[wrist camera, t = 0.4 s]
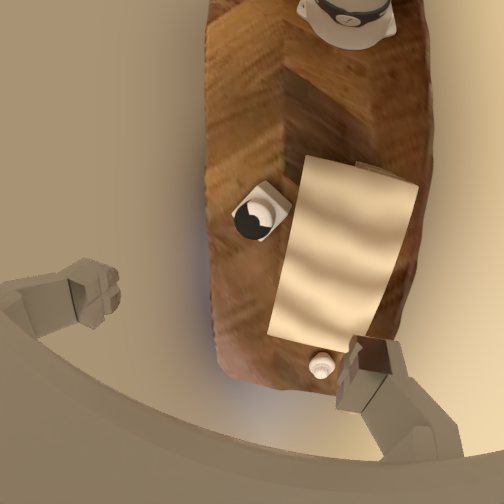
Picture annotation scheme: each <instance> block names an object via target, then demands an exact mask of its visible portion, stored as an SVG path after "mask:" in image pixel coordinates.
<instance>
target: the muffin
mask: <svg viewBox="0 0 504 504" xmlns="http://www.w3.org/2000/svg"><path fill="white" fill-rule="evenodd" d="M334 368H335V363H334V361H333V359H332V358H331V357H330V356H329V354H328V353H325V352H320V353H318V354H317V355H316V356H315V357H314V358H313V359H312V360H311V362H310V364H309V369H310V371H311V372H312V373H313V374H314V376H315V377H316V378H318V379H322V378H323V379H324V378H326V377H327V376H328V375H329V374H330V373H332V372H333V370H334Z"/></svg>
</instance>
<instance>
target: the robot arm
mask: <svg viewBox="0 0 504 504" xmlns="http://www.w3.org/2000/svg"><path fill="white" fill-rule="evenodd" d="M303 6H304V7H305V8H304V7H303ZM297 14H298V15H299V16H300V17H301V18H303V19H304V20H306V21H307V22H308V23H309V24H310V25H311V27H312V29H313V30H314V31H315V33H316V34H317V35H318V36H319V37H320V38H322V39H323V40H324V41H326V42H327V43H329V44H331V45H333V46H336V47H339V48H342V49H348V50H361V49H366V48H369V47H371V46H373V45H375V44H376V43H377V42H379V41H380V40H381V39H383V38H385V37H390V36H393V35H395V34H396V24H395V19H394V14H393V9H392V5H391V0H300V2H299V5H298V7H297ZM390 25H391V26H390ZM118 281H119V275H118V271H117V270H116V269H115V268H113V267H111V266H108V265H106V264H103V263H100V262H98V261H95V260H92V259H90V258H82V259H80V260H78V261H77V262H75V263H73V264H72V265H70V266H69V267H67V268H65V269H63V270H62V271H60V272H58V273H57V274H56V273H49V274H43V275H38V276H33V277H27V278H22V279H16V280H11V281H6V282H4V283H2V284H1V285H0V504H504V450H501V451H496V452H491V453H487V454H481V455H476V456H469V457H464V454H463V449H462V444H461V439H460V435H459V431H458V426H457V424H456V423H455V422H454V421H453V420H452V419H451V418H450V417H449V416H448V415H447V414H446V412H445V411H444V410H443V409H442V408H441V407H440V406H439V405H438V404H437V403H436V402H435V401H434V400H433V399H432V398H431V396H430V395H429V394H428V393H427V392H426V391H425V390H424V389H423V388H422V387H421V386H420V385H419V384H418V383H417V382H416V381H415V380H414V379H413V378H411V377H408V373H407V369H406V365H405V361H404V357H403V353H402V350H401V346H400V343H399V342H398V341H394V340H387V339H378V338H373V337H367V336H362V335H356V334H354V335H353V336H352V338H351V340H350V342H349V351H348V352H347V353H345V354H344V355H343V357H342V360H341V362H340V365H339V368H338V373H337V383H338V384H339V386H340V387H339V389H338V391H337V393H336V409H338V410H343V411H349V412H355V413H361V416H362V418H363V419H364V421H365V423H366V425H367V426H368V428H369V430H370V432H371V434H372V435H373V437H374V439H375V441H376V442H377V444H378V446H379V448H380V450H381V451H382V453H383V455H384V457H383V458H382V459H381V460H380V461H360V460H347V459H338V458H329V457H321V456H314V455H308V454H302V453H296V452H291V451H286V450H281V449H276V448H271V447H267V446H263V445H259V444H255V443H251V442H247V441H244V440H240V439H237V438H233V437H230V436H226V435H223V434H220V433H217V432H214V431H210V430H208V429H205V428H202V427H199V426H196V425H194V424H191V423H188V422H186V421H183V420H180V419H178V418H175V417H173V416H170V415H168V414H166V413H163V412H161V411H158V410H156V409H154V408H152V407H150V406H147V405H145V404H143V403H141V402H139V401H137V400H135V399H133V398H131V397H129V396H127V395H125V394H123V393H121V392H119V391H117V390H115V389H113V388H111V387H109V386H108V385H106V384H104V383H102V382H101V381H99V380H97V379H95V378H94V377H92V376H90V375H88V374H87V373H85V372H84V371H82V370H80V369H79V368H77V367H76V366H74V365H72V364H70V363H69V362H68V361H66V360H65V359H63V358H62V357H60V356H59V355H57V354H56V353H54V352H53V351H52V350H50V349H49V348H47V347H46V346H45V345H43V344H42V343H41V342H39V341H38V340H37V338H40V337H42V336H45V335H47V334H50V333H53V332H55V331H58V330H60V329H63V328H65V327H68V326H71V325H73V324H76V323H77V322H79V323H81V324H83V325H85V326H87V327H89V328H91V329H93V330H94V329H95V328H96V327H97V326H99V325H100V324H101V323H102V322H103V321H104V320H105V315H108V314H112V313H113V312H114V311H115V310H116V309H117V307H118V305H119V303H120V299H121V292H120V289H119V287H118V286H117V282H118Z"/></svg>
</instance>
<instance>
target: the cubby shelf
mask: <svg viewBox="0 0 504 504" xmlns="http://www.w3.org/2000/svg"><path fill="white" fill-rule="evenodd" d="M418 188H419V186H417V185H415V184H413V183H411V182H409V181H407V180H405V179H403V178H401V177H399V176H397V175H395V174H393V173H391V172H389V171H387V170H385V169H383V168H380V167H377V166H373V165H370V164H366V163H362V162H359V161H356V163H355V166H351V165H347V164H343V163H339V162H335V161H331V160H326V159H322V158H318V157H313V156H309V155H306V156H305V162H304V167H303V172H302V178H301V183H300V188H299V193H298V198H297V203H296V208H295V213H294V218H293V222H292V227H291V232H290V237H289V241H288V246H287V251H286V255H285V260H284V264H283V269H282V273H281V278H280V282H279V286H278V291H277V295H276V299H275V304H274V308H273V312H272V316H271V320H270V325H269V329H268V333H267V334H268V335H271V336H275V337H279V338H283V339H287V340H291V341H295V342H299V343H304V344H308V345H312V346H317V347H321V348H326V349H330V350H335V351H340V352H345V353H347V352H348V351H349V342H350V340H351V338H352V336H353V335H354V334H356V335H362V336H365V334H366V332H367V330H368V328H369V326H370V323H371V321H372V319H373V317H374V314H375V312H376V310H377V308H378V305H379V303H380V301H381V298H382V296H383V293H384V291H385V288H386V286H387V283H388V281H389V278H390V276H391V273H392V271H393V268H394V265H395V262H396V260H397V257H398V254H399V251H400V248H401V245H402V242H403V239H404V236H405V233H406V230H407V227H408V224H409V220H410V217H411V214H412V210H413V207H414V203H415V199H416V196H417V192H418Z"/></svg>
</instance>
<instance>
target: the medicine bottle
mask: <svg viewBox="0 0 504 504" xmlns="http://www.w3.org/2000/svg"><path fill="white" fill-rule="evenodd" d="M291 208H292V204H291V203H290V202H289V201H288V200H287V199H286V198H285V197H284V196H283V195H282V194H281V193H279V192H278V191H277V190H276V189H275V188H274V187H273V186H272V185H271V184H270V183H269V182H268V181H266V180H265V181H263V182H262V183H260V184H259V185H257V186H256V187H255V188H254V189H253V190H252V191H251V192H250V193H249V195H248V196H247V197H246V198H245V199H244V200H243V201H242V202H241V203H240V205H239V206H238V207H237V208H236V209H235V210H234V211H233V212H232V216H233V217H234V223H235V226H236V229H237V230H238V232H239V233H240V234H241V235H242V236H244V237H245V238H248V239H251V240H259V241H263V240H264V239H265V238H266V237H267V236H268V235H269V234H270V233H271V232H272V231H273V230H274V229H275V228H276V227H277V226H278V225H279V224H280V223H281V222H282V221H283V220H284V219H285V218H286V217H287V216H288V214H289V212H290V210H291Z"/></svg>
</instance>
